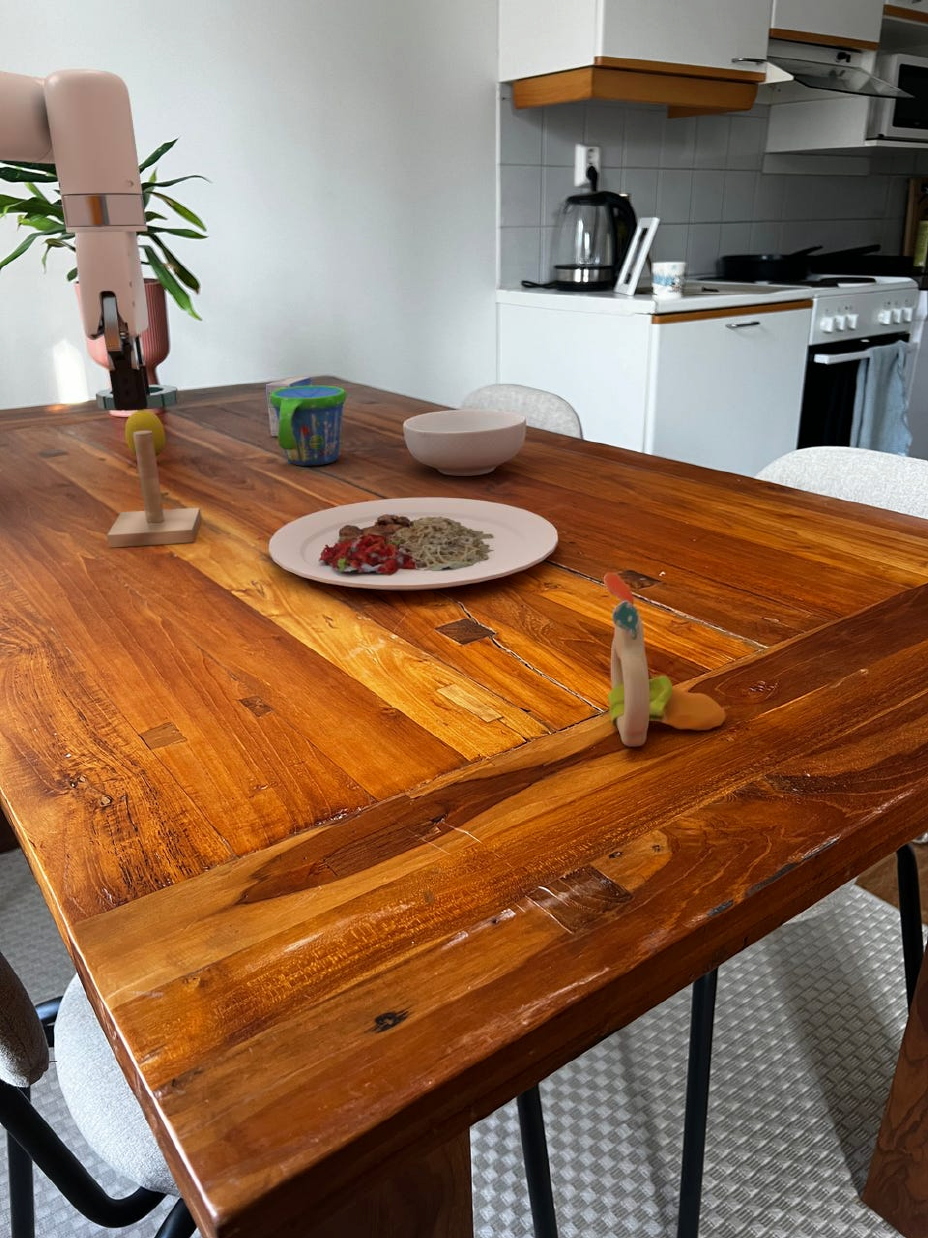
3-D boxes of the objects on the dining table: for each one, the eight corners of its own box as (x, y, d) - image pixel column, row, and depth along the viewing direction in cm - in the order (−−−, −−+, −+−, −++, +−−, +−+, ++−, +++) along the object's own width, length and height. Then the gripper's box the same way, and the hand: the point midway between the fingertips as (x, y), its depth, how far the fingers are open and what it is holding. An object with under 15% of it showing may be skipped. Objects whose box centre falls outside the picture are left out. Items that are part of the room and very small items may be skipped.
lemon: (122, 466, 141) (113, 410, 138) (142, 457, 146) (134, 404, 143) (156, 467, 139) (148, 411, 136) (175, 459, 144) (168, 405, 141)
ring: (92, 412, 99) (90, 398, 99) (105, 399, 107) (103, 386, 106) (174, 408, 101) (172, 394, 100) (181, 395, 108) (179, 383, 108)
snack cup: (315, 476, 133) (309, 401, 129) (251, 470, 137) (244, 397, 133) (371, 453, 146) (367, 384, 142) (311, 447, 150) (306, 381, 146)
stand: (109, 547, 105) (91, 442, 100) (122, 524, 113) (107, 426, 109) (193, 542, 106) (180, 438, 102) (201, 519, 114) (189, 422, 110)
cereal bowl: (483, 450, 146) (482, 403, 143) (550, 472, 133) (550, 420, 130) (383, 466, 137) (381, 417, 135) (445, 491, 124) (443, 436, 122)
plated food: (587, 524, 110) (588, 495, 108) (507, 620, 84) (507, 584, 82) (349, 504, 119) (347, 477, 118) (212, 585, 93) (207, 552, 92)
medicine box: (294, 438, 157) (289, 384, 154) (270, 436, 158) (265, 383, 155) (316, 428, 164) (312, 376, 160) (292, 427, 165) (287, 376, 162)
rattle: (721, 771, 60) (738, 600, 56) (591, 755, 62) (597, 589, 58) (725, 716, 67) (740, 559, 63) (607, 703, 69) (613, 551, 65)
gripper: (81, 217, 100) (110, 396, 107) (45, 216, 86) (80, 423, 93) (156, 216, 101) (179, 393, 108) (132, 214, 87) (160, 419, 94)
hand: (133, 405), depth 101 cm, fingers closed on ring, 1 cm apart
